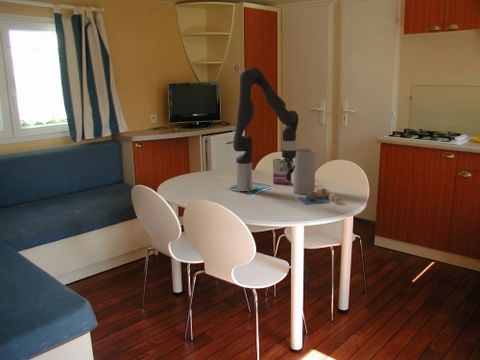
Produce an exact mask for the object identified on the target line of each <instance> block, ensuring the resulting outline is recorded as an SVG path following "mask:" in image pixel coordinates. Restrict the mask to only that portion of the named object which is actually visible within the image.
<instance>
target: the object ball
mask: <svg viewBox="0 0 480 360" xmlns="http://www.w3.org/2000/svg"><path fill="white" fill-rule="evenodd" d="M321 189H322V188H315V190H314V191H313V192H315V193H316V198H317V199H319V198H321V197H324V196H323V192H322V190H321Z"/></svg>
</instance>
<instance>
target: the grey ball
mask: <svg viewBox="0 0 480 360" xmlns="http://www.w3.org/2000/svg"><path fill="white" fill-rule="evenodd" d="M305 197H306V198H307V199H308V200H309V201H314V200H315V199H316V193H315V192H313V191H309V192H308V193H307V194H305Z"/></svg>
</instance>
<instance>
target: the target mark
mask: <svg viewBox="0 0 480 360" xmlns="http://www.w3.org/2000/svg"><path fill="white" fill-rule="evenodd" d="M297 199H298V200H299V201H301V202H302V203H303V204H305V205H306V206H310V205H320V204H330V203H331V201H330V200H328V199H327V198H325V197H324V196H322V197H321V198H319V199H317V198H316V199H315V200H314V201H309V200H308V199H307V198H306V196H301V197H297Z"/></svg>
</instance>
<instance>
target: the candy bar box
mask: <svg viewBox="0 0 480 360" xmlns="http://www.w3.org/2000/svg"><path fill="white" fill-rule="evenodd" d="M283 161H285V158H283V157H274V158H273V161H272V167H273V170H272V173H273V175H272V177H273V178H272V179H273V182H272V183H273V184H274V185H291V184H292V179H291V180H287V179H286V171H285V169H284V164H283Z"/></svg>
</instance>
